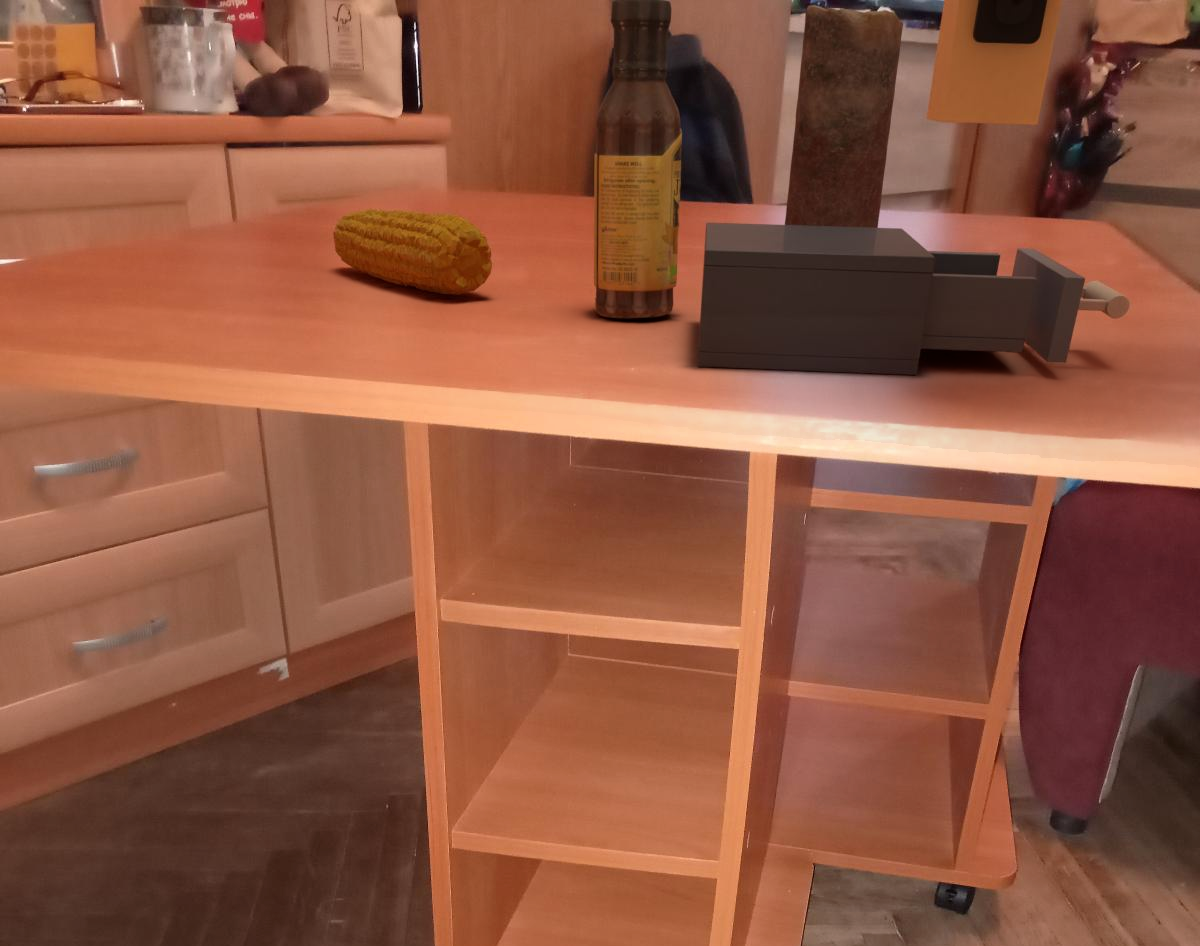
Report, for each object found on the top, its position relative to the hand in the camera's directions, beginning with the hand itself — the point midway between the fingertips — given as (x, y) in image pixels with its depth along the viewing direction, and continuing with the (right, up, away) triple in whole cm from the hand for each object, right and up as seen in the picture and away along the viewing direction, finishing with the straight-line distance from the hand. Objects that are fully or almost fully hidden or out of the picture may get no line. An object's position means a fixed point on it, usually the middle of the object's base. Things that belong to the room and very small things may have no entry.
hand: (994, 39), depth 59 cm
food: (-37, +4, +38) cm, 53 cm away
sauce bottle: (-18, -2, +29) cm, 34 cm away
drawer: (+5, -8, +18) cm, 21 cm away
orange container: (0, -3, +2) cm, 4 cm away
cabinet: (-7, -8, +19) cm, 22 cm away
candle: (-2, +1, +34) cm, 35 cm away
